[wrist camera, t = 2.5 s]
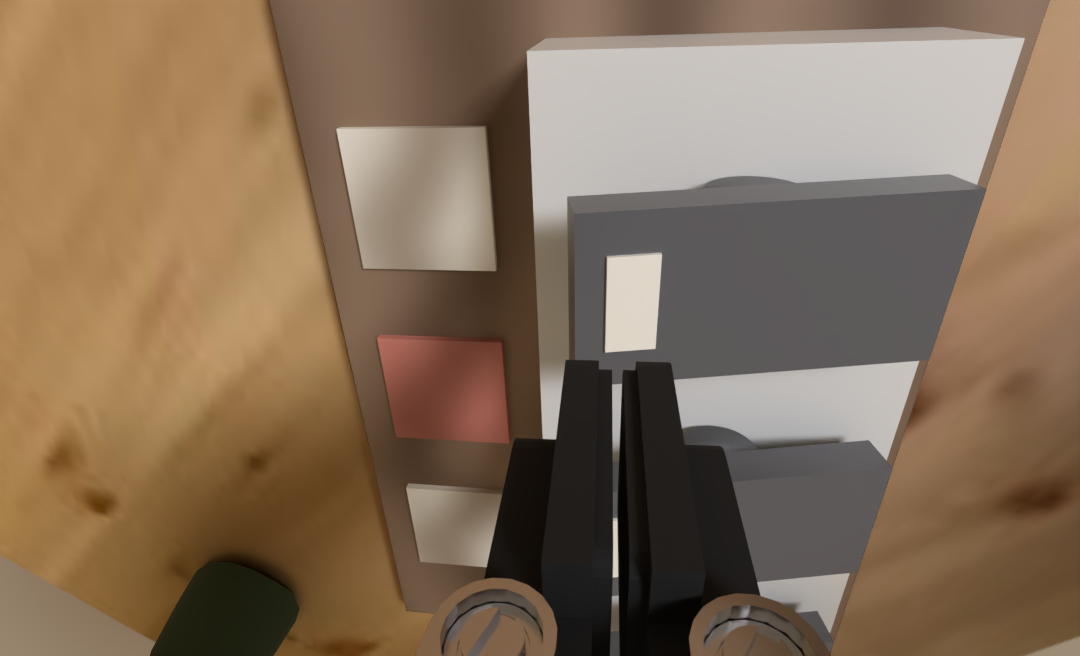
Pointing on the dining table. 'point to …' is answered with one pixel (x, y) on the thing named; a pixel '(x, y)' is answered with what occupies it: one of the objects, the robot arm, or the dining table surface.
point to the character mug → (228, 615)
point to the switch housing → (754, 150)
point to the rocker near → (766, 273)
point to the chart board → (483, 223)
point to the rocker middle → (796, 502)
